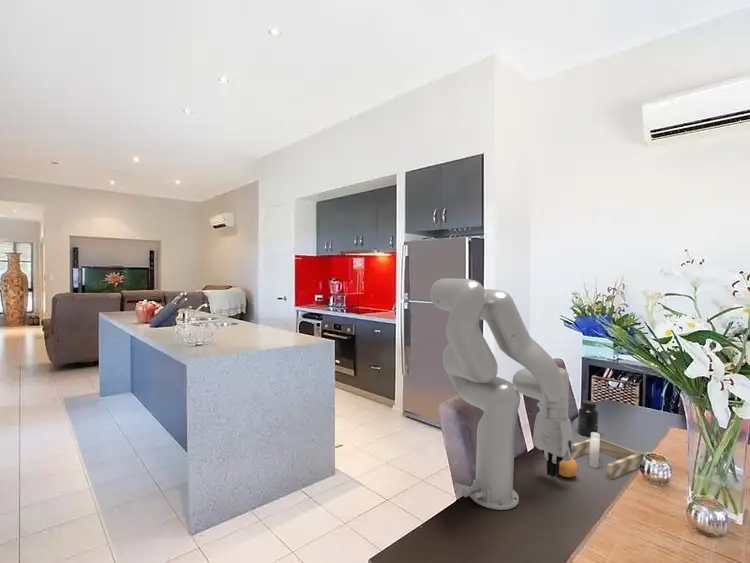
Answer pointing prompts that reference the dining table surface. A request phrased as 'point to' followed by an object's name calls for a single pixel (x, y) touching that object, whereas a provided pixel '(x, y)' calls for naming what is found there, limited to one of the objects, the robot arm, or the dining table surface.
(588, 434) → the supplement bottle
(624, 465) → the u-shaped wooden frame
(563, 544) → the dining table surface
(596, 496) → the dining table surface
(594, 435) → the back pin
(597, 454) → the front pin
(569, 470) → the ball
